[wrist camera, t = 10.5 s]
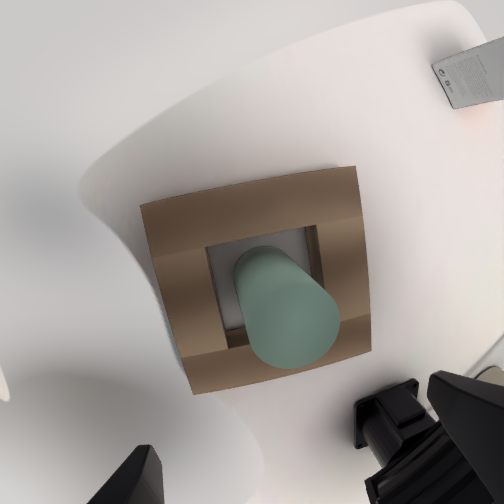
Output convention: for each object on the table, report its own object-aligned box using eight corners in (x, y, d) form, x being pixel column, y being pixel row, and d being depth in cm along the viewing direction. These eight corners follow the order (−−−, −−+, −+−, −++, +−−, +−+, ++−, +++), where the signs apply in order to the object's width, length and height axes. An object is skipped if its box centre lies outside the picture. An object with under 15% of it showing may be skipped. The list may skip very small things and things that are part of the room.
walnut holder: (357, 335, 23) (371, 351, 20) (194, 374, 22) (193, 394, 19) (339, 167, 20) (355, 165, 18) (148, 202, 19) (139, 205, 16)
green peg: (298, 297, 21) (342, 355, 14) (240, 310, 21) (257, 377, 13) (289, 240, 21) (335, 273, 13) (227, 253, 20) (239, 295, 12)
